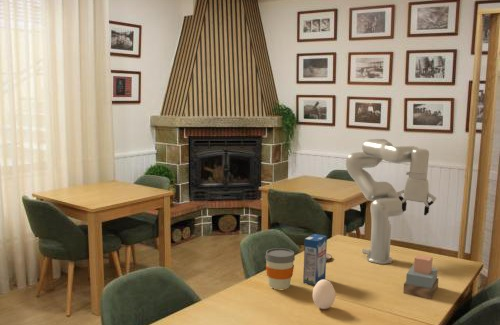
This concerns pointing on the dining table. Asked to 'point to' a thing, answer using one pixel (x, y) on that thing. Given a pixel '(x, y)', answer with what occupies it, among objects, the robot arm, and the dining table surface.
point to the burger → (328, 257)
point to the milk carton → (314, 259)
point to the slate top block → (421, 278)
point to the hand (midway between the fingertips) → (414, 212)
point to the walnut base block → (420, 290)
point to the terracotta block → (423, 264)
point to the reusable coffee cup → (279, 267)
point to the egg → (323, 294)
